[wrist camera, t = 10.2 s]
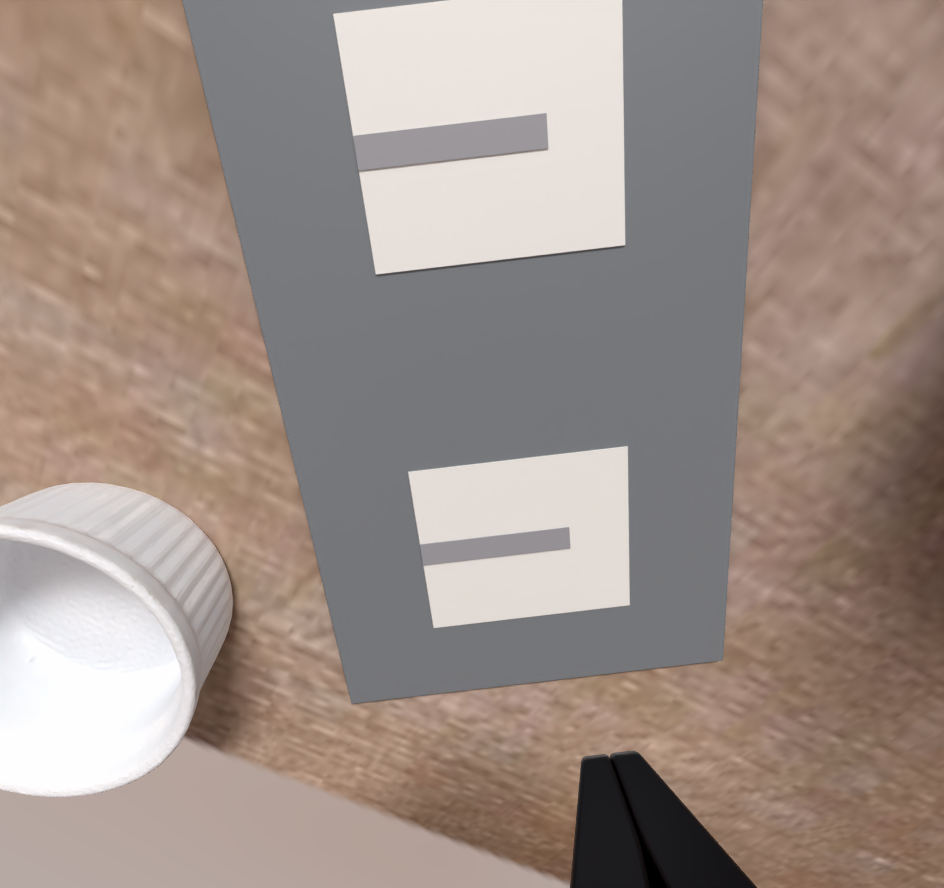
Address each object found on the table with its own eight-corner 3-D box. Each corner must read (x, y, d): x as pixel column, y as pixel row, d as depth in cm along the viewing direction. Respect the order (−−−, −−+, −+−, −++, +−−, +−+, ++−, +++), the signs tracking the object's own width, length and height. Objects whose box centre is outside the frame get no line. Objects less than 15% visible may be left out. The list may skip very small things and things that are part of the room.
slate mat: (770, -197, 12) (777, -208, 11) (720, 656, 20) (724, 662, 19) (155, -124, 12) (148, -133, 11) (352, 699, 20) (351, 705, 19)
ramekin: (-78, 560, 17) (-242, 653, 13) (108, 408, 16) (-12, 458, 12) (128, 722, 20) (44, 842, 16) (304, 603, 18) (262, 700, 14)
